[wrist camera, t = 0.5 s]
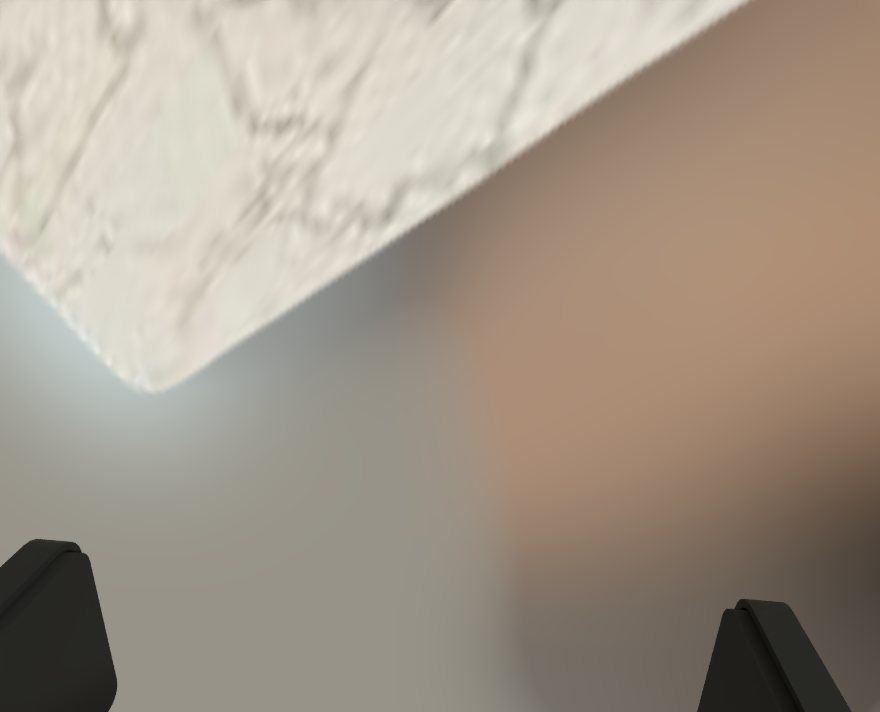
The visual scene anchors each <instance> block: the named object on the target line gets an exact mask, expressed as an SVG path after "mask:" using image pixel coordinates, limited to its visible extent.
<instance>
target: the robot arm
mask: <svg viewBox="0 0 880 712" xmlns="http://www.w3.org/2000/svg"><path fill="white" fill-rule="evenodd" d="M116 691H117V678H116V674H115V669H114V665H113V660H112V656H111V652H110V647H109V643H108V638H107V634H106V630H105V625H104V621H103V617H102V612H101V607H100V603H99V599H98V595H97V590H96V585H95V581H94V577H93V572H92V568H91V563H90V560H89V557H88V556H87V555H86V554H84V553H82V552H81V549H80V547H79V546H78V545H77V544H76V543H74V542H67V541H55V540H43V539H35V540H32V541H29V542H28V543H27V544H25V545H24V546H23V547H22V548H21V549H20V550H18V551H17V552H16V553H15V554H14V555H13V556H12V557H11V558H10V559H9V560H8V561H7V562H5V563H4V564H3V565H2V566H1V567H0V712H108V711H109V709H110V708H111V706H112V704H113V701H114V699H115V695H116ZM697 712H851V710H850V708H849V707H848V705H847V703H846V701H845V700H844V698H843V696H842V695H841V693H840V691H839V689H838V688H837V686H836V684H835V683H834V681H833V679H832V678H831V676H830V674H829V672H828V671H827V669H826V667H825V665H824V664H823V662H822V660H821V659H820V657H819V655H818V654H817V652H816V650H815V648H814V647H813V645H812V643H811V642H810V640H809V638H808V636H807V635H806V633H805V631H804V630H803V628H802V626H801V624H800V623H799V621H798V619H797V618H796V616H795V614H794V612H793V611H792V610H791V608H790V607H789V606H788V605H787V604H785V603H783V602H772V601H761V600H749V599H741V600H739V601H738V603H737V605H736V607H735V609H726V610H725V611H724V613H723V615H722V619H721V623H720V627H719V631H718V634H717V638H716V642H715V646H714V650H713V653H712V657H711V661H710V665H709V669H708V673H707V676H706V680H705V684H704V688H703V692H702V696H701V700H700V703H699V707H698V711H697Z"/></svg>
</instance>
